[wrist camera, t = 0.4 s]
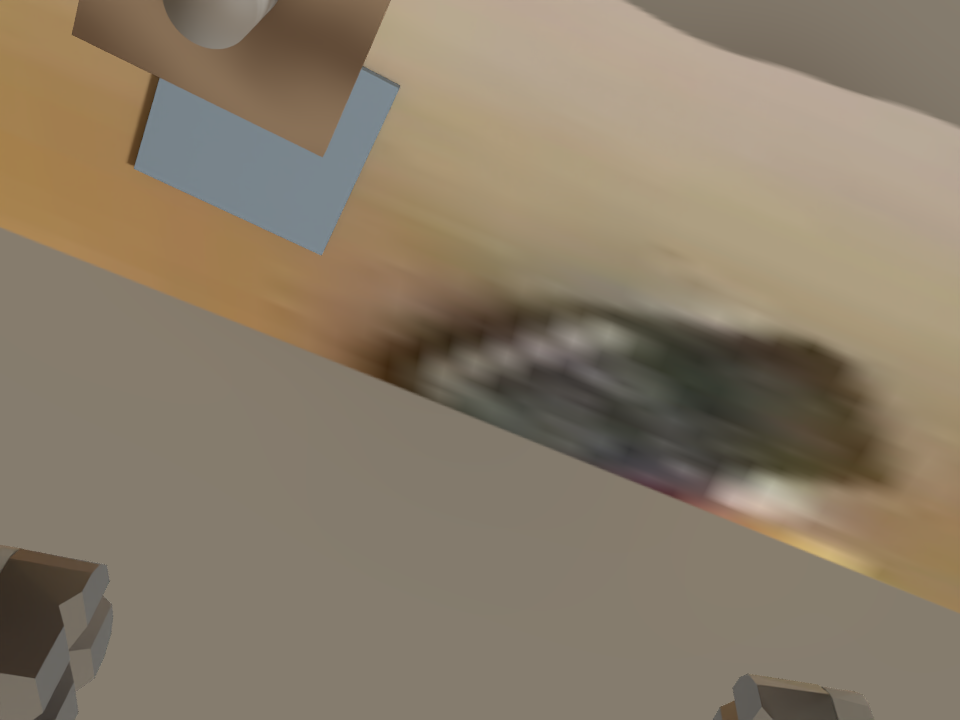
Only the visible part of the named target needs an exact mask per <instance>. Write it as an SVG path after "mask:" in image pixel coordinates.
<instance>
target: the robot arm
mask: <svg viewBox="0 0 960 720" xmlns="http://www.w3.org/2000/svg"><path fill="white" fill-rule="evenodd" d="M109 582H110V581H109V575H108V569H107V565H105V564H100V563H95V562H89V561H84V560H78V559H73V558H67V557H63V556H57V555H52V554H46V553H41V552H36V551H30V550H24V549H22V548H16V547H10V546H5V545H0V720H75V718H76V716H77V714H78V705H77V699H76V691H77V690H79V689H80V688H82V687H83V686H85V685H86V684H87V683H89V682H90V681H92V680H93V679H94V678H95V676H96V674H97V672H98V670H99V667H100V665H101V663H102V661H103V659H104V656H105V653H106V649H107V646H108V643H109V639H110V636H111V632H112V622H113V610H112V604H111V603H110V602H109V601H108V600H107V599H106V598H105V597H104V596H103V594H104V592H105V590H106V588H107V586H108V584H109ZM733 693H734V699H735V701H732V702H730V703H728V704H726V705H723V706H721V707H720V708H719V710H718V711H717V713H716V715H715V717H714V718H713V720H874V717H873V715H872V711H871V708H870V706H869V703H868V701H867V700H866V699H865V697H864V696H863V695H862V694H860V693H857V692H854V691H848V690H842V689H835V688H828V687H821V686H819V685H817V684H811V683H805V682H798V681H791V680H785V679H779V678H772V677H766V676H759V675H753V674H746V675H744V676H741V677H740V678H739V679H738V681H737V682H736V684H735V685H734V687H733Z"/></svg>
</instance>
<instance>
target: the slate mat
mask: <svg viewBox="0 0 960 720" xmlns="http://www.w3.org/2000/svg"><path fill="white" fill-rule="evenodd" d="M399 88H400V85H398V84H396V83H394V82H392V81H390V80H388V79H386V78H384V77H382V76H381V75H379V74H377V73H375V72H373V71H371V70H369V69H367V68H365V67H363V66H362V69H361V71H360V73H359V76H358V78H357V80H356V83H355V85H354V87H353V90H352V92H351V94H350V97H349V99H348V101H347V103H346V106H345V108H344V110H343V113H342V115H341V117H340V120H339V122H338V124H337V127H336V129H335V131H334V134H333V136H332V138H331V141H330V143H329V145H328V148H327V150H326V152H325V154H324V156H323V157H320V156H318V155H316V154H314V153H312V152H310V151H308V150H306V149H304V148H302V147H300V146H298V145H296V144H294V143H292V142H290V141H288V140H286V139H284V138H282V137H280V136H278V135H276V134H274V133H271V132H269V131H267V130H265V129H263V128H261V127H259V126H257V125H255V124H253V123H251V122H249V121H247V120H245V119H243V118H241V117H239V116H237V115H235V114H233V113H231V112H229V111H227V110H225V109H223V108H220V107H218V106H216V105H214V104H212V103H210V102H208V101H206V100H204V99H202V98H200V97H198V96H196V95H194V94H192V93H190V92H188V91H186V90H184V89H182V88H180V87H178V86H176V85H174V84H171V83H169V82H167V81H165V80H163V79H161V78H160V79H159V82H158V86H157V89H156V93H155V96H154V100H153V103H152V107H151V110H150V114H149V117H148V121H147V124H146V128H145V131H144V135H143V138H142V142H141V145H140V149H139V152H138V156H137V159H136V163H135V166H134V169H136V170H138V171H140V172H142V173H144V174H146V175H149V176H151V177H153V178H155V179H157V180H159V181H162V182H164V183H166V184H168V185H170V186H172V187H175V188H177V189H179V190H181V191H183V192H185V193H188V194H190V195H192V196H194V197H196V198H198V199H200V200H203V201H205V202H207V203H209V204H211V205H213V206H216V207H218V208H220V209H222V210H224V211H226V212H229V213H231V214H233V215H235V216H237V217H239V218H242V219H244V220H246V221H248V222H250V223H252V224H255V225H257V226H259V227H261V228H263V229H265V230H267V231H270V232H272V233H274V234H276V235H278V236H280V237H283V238H285V239H287V240H289V241H291V242H293V243H296V244H298V245H300V246H302V247H304V248H306V249H309V250H311V251H313V252H315V253H317V254H319V255H322V253H323V251H324V249H325V247H326V245H327V243H328V240H329V238H330V236H331V234H332V232H333V230H334V228H335V225H336V223H337V221H338V219H339V217H340V215H341V212H342V210H343V208H344V206H345V204H346V202H347V200H348V197H349V195H350V193H351V191H352V189H353V187H354V185H355V182H356V180H357V178H358V176H359V174H360V172H361V170H362V167H363V165H364V163H365V161H366V159H367V157H368V155H369V152H370V150H371V148H372V146H373V144H374V142H375V139H376V137H377V135H378V133H379V131H380V129H381V127H382V124H383V122H384V120H385V118H386V116H387V114H388V112H389V109H390V107H391V105H392V103H393V101H394V99H395V97H396V94H397V92H398V90H399Z"/></svg>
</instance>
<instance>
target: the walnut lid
mask: <svg viewBox="0 0 960 720" xmlns="http://www.w3.org/2000/svg"><path fill="white" fill-rule="evenodd" d="M390 1H391V0H79V3H78V8H77V12H76V17H75V22H74V27H73V31H72V35H73V36H76V37H78V38H80V39H82V40H84V41H86V42H88V43H90V44H92V45H94V46H96V47H98V48H100V49H102V50H104V51H106V52H108V53H110V54H112V55H114V56H116V57H118V58H120V59H122V60H125V61H127V62H129V63H131V64H133V65H135V66H137V67H139V68H141V69H143V70H145V71H147V72H149V73H151V74H153V75H155V76H157V77H159V78H161V79H163V80H165V81H167V82H169V83H171V84H174V85H176V86H178V87H180V88H182V89H184V90H186V91H188V92H190V93H192V94H194V95H196V96H198V97H200V98H202V99H204V100H206V101H208V102H210V103H212V104H214V105H216V106H218V107H220V108H223V109H225V110H227V111H229V112H231V113H233V114H235V115H237V116H239V117H241V118H243V119H245V120H247V121H249V122H251V123H253V124H255V125H257V126H259V127H261V128H263V129H265V130H267V131H269V132H271V133H274V134H276V135H278V136H280V137H282V138H284V139H286V140H288V141H290V142H292V143H294V144H296V145H298V146H300V147H302V148H304V149H306V150H308V151H310V152H312V153H314V154H316V155H318V156H320V157H323V156H324V154H325V152H326V150H327V148H328V145H329V143H330V141H331V138H332V136H333V134H334V131H335V129H336V127H337V124H338V122H339V120H340V117H341V115H342V113H343V110H344V108H345V106H346V103H347V101H348V99H349V97H350V94H351V92H352V90H353V87H354V85H355V83H356V80H357V78H358V76H359V73H360V71H361V69H362V66H363V64H364V62H365V59H366V57H367V55H368V52H369V50H370V48H371V45H372V43H373V41H374V38H375V36H376V34H377V31H378V29H379V27H380V24H381V22H382V20H383V17H384V15H385V13H386V10H387V8H388V6H389V3H390Z"/></svg>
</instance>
